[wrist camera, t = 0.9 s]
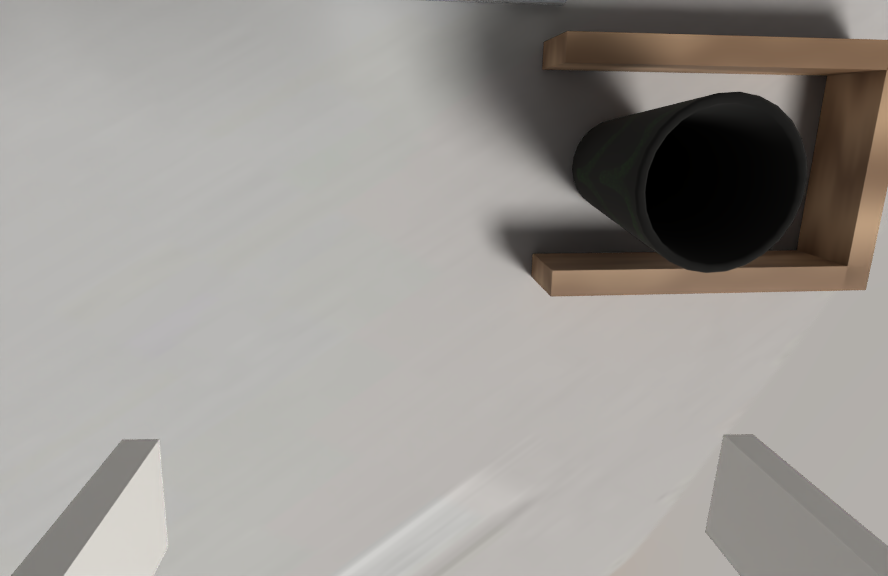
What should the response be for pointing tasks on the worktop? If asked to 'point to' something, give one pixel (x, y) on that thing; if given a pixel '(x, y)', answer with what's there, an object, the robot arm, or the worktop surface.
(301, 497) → the worktop surface
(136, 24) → the worktop surface
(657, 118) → the cup
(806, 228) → the wooden frame
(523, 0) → the coaster
